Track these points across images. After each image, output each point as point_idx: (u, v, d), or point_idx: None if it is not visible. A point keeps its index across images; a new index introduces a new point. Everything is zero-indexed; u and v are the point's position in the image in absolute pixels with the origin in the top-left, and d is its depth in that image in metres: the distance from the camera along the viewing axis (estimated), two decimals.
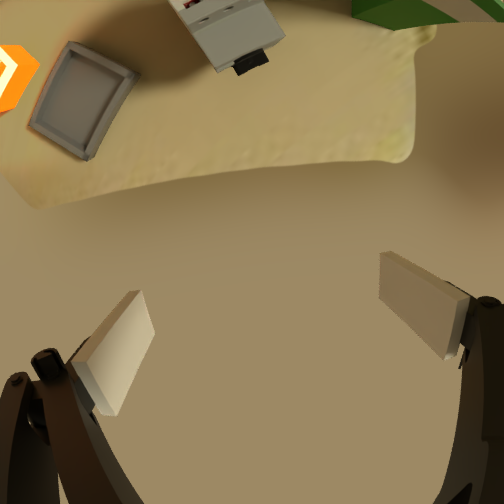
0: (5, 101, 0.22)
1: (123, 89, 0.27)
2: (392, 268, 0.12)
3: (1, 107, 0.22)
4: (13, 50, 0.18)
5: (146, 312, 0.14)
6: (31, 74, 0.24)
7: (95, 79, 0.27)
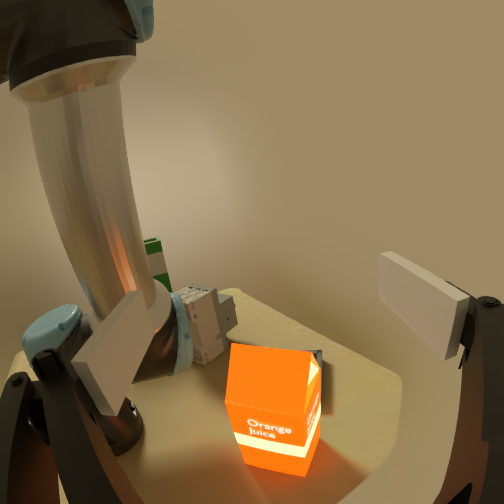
0: None
1: None
2: (393, 268, 0.12)
3: None
4: None
5: (146, 312, 0.14)
6: None
7: None
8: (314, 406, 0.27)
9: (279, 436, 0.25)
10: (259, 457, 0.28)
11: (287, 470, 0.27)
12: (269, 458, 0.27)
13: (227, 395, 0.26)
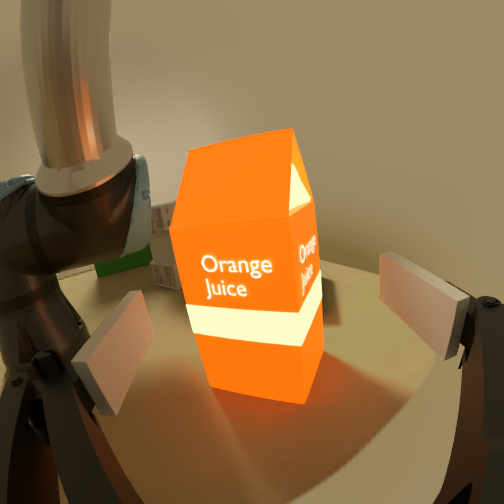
0: None
1: None
2: (393, 268, 0.12)
3: None
4: None
5: (146, 312, 0.14)
6: None
7: None
8: (309, 247, 0.19)
9: (253, 290, 0.18)
10: (228, 365, 0.21)
11: (274, 392, 0.20)
12: (243, 363, 0.20)
13: (173, 218, 0.19)
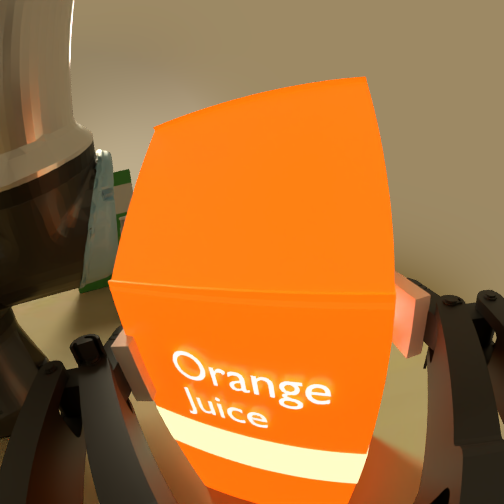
0: None
1: None
2: None
3: None
4: None
5: None
6: None
7: None
8: None
9: (282, 421, 0.07)
10: (231, 479, 0.10)
11: None
12: (254, 483, 0.10)
13: (117, 262, 0.09)
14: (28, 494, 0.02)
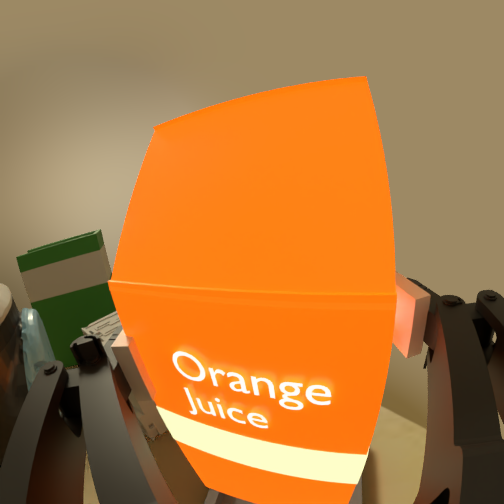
0: None
1: None
2: None
3: None
4: None
5: None
6: None
7: None
8: None
9: (283, 422, 0.07)
10: (231, 480, 0.10)
11: None
12: (254, 484, 0.10)
13: (117, 263, 0.09)
14: (28, 494, 0.02)
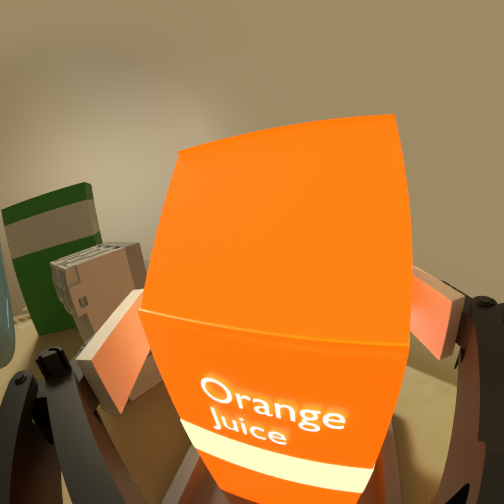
0: None
1: None
2: None
3: None
4: None
5: None
6: None
7: None
8: None
9: (300, 440, 0.08)
10: (246, 484, 0.11)
11: None
12: (268, 489, 0.10)
13: (146, 292, 0.09)
14: (10, 499, 0.02)
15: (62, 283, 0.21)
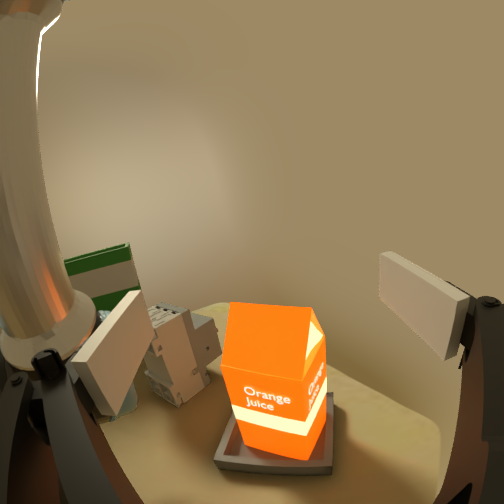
0: None
1: None
2: (392, 268, 0.12)
3: None
4: None
5: (146, 312, 0.14)
6: None
7: None
8: (317, 376, 0.26)
9: (278, 408, 0.24)
10: (259, 437, 0.27)
11: (288, 453, 0.26)
12: (268, 437, 0.27)
13: (223, 359, 0.26)
14: (8, 500, 0.02)
15: None
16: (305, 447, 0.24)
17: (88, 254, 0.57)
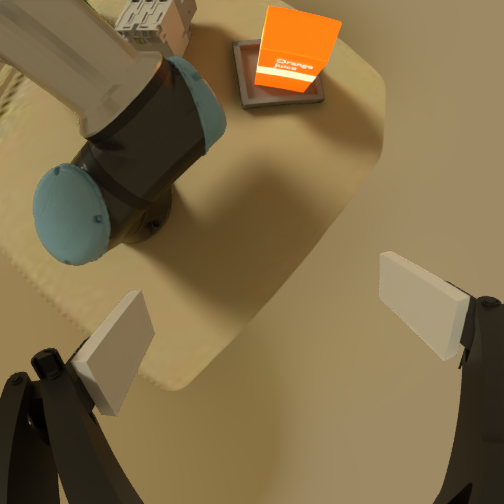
0: None
1: (247, 41, 0.37)
2: (392, 268, 0.12)
3: None
4: None
5: (146, 312, 0.14)
6: None
7: (256, 69, 0.40)
8: None
9: (299, 69, 0.32)
10: (271, 80, 0.38)
11: (290, 88, 0.41)
12: (280, 80, 0.38)
13: (263, 44, 0.26)
14: (8, 500, 0.02)
15: (142, 35, 0.27)
16: (307, 86, 0.38)
17: None
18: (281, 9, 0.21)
